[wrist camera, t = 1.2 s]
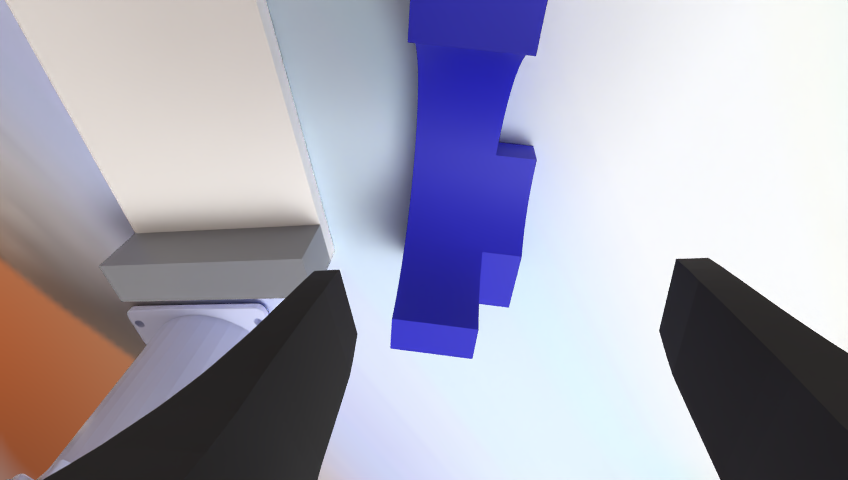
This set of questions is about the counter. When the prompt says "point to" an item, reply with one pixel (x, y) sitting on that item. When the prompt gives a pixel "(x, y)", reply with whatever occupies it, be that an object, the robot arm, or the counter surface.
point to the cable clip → (464, 171)
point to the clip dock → (188, 142)
